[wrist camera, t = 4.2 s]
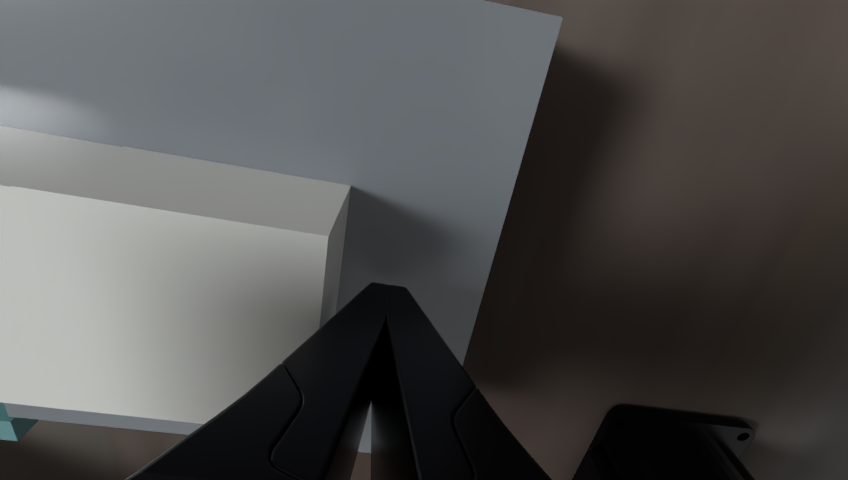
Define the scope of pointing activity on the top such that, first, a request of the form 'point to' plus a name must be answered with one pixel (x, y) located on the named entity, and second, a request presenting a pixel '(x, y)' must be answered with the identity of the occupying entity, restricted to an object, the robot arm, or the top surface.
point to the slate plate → (306, 120)
